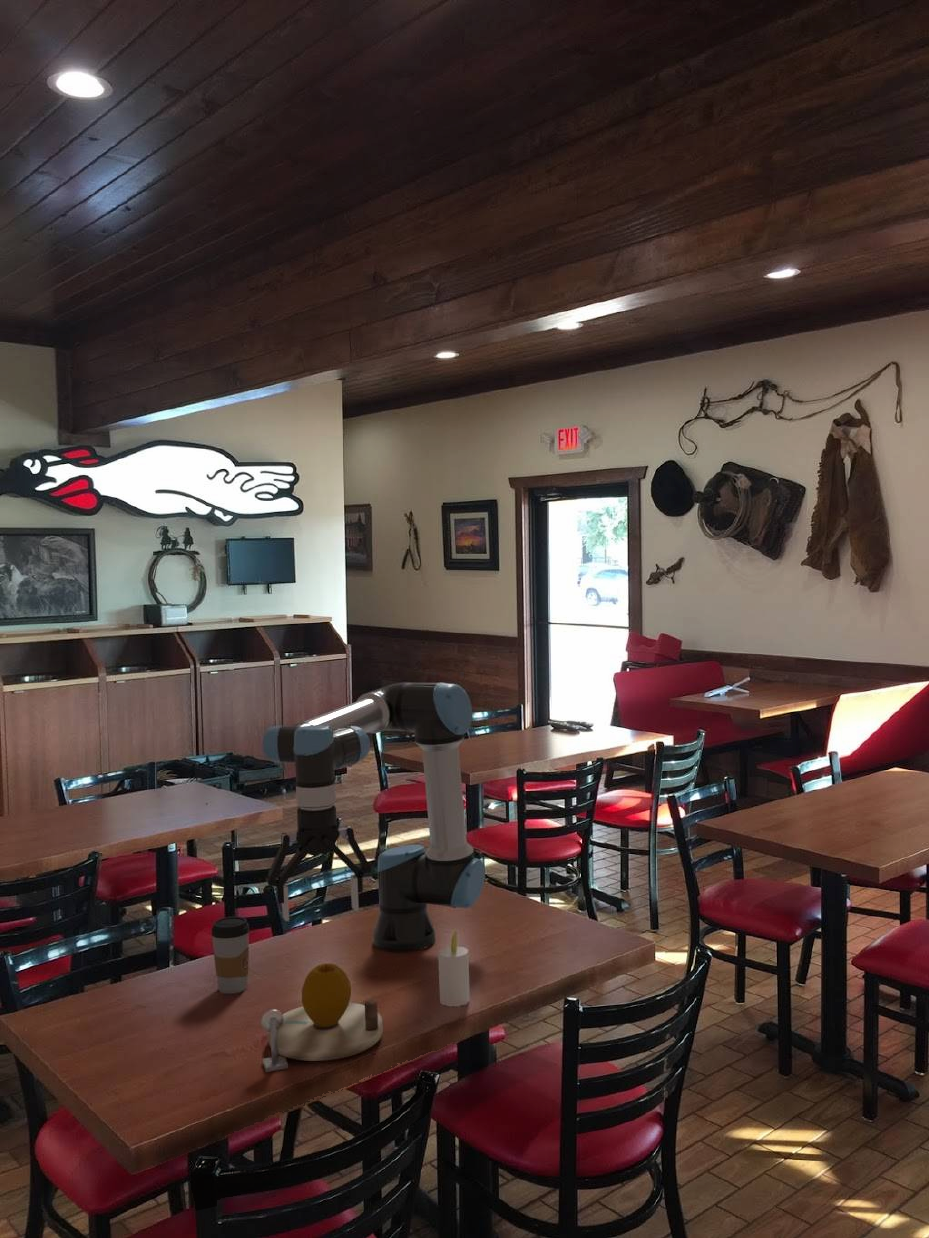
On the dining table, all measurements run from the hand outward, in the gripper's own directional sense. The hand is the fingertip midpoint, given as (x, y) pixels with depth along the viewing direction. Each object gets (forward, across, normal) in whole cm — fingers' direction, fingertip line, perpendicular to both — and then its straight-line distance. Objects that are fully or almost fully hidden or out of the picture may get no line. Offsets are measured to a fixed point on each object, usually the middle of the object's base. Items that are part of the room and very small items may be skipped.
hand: (321, 914), depth 206 cm
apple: (+22, 0, +1) cm, 22 cm away
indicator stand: (+25, +11, +8) cm, 28 cm away
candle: (+25, -29, -7) cm, 39 cm away
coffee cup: (+25, +14, -34) cm, 44 cm away
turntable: (+25, 0, +1) cm, 25 cm away
